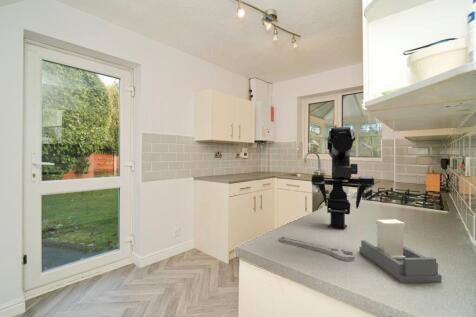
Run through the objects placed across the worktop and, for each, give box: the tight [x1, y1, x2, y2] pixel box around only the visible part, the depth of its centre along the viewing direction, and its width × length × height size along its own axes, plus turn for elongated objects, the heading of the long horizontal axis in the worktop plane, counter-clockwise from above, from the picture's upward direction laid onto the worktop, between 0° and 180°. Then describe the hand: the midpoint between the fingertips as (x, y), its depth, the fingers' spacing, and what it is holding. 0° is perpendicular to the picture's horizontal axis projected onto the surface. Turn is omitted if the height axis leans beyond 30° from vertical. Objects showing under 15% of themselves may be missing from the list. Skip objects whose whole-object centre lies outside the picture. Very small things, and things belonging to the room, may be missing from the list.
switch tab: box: [375, 218, 406, 259], centre depth 67 cm, size 5×6×10 cm
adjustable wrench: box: [278, 236, 356, 262], centre depth 77 cm, size 25×6×2 cm, turn 47°
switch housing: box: [358, 239, 443, 284], centre depth 65 cm, size 18×10×6 cm, turn 2°
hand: (341, 207), depth 75 cm, fingers open, 9 cm apart
